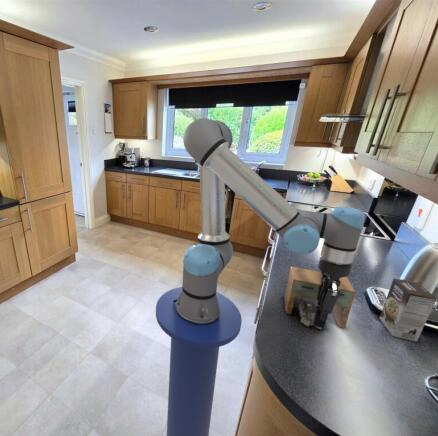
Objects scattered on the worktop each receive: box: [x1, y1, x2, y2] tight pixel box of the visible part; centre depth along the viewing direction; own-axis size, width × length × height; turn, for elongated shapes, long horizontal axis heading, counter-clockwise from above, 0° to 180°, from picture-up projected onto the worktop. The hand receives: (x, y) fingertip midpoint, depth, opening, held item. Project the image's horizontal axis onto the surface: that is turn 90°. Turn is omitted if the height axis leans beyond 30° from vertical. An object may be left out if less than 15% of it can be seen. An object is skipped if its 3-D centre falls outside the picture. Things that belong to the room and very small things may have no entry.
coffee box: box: [379, 278, 437, 343], centre depth 77 cm, size 9×6×16 cm
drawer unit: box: [283, 266, 356, 329], centre depth 85 cm, size 17×10×14 cm, turn 65°
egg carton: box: [298, 298, 329, 330], centre depth 84 cm, size 11×8×4 cm
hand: (318, 325), depth 78 cm, fingers closed
